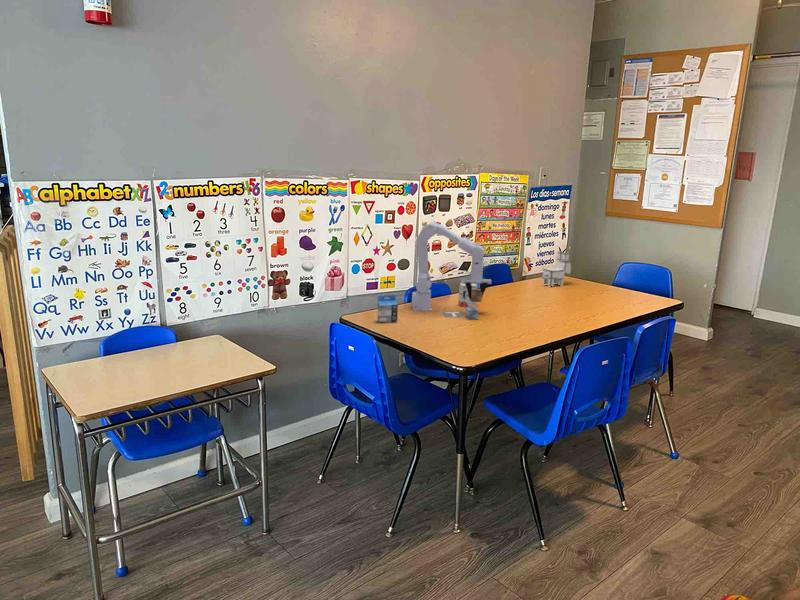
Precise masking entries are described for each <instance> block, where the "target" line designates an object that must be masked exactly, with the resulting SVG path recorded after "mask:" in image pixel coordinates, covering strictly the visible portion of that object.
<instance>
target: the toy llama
mask: <svg viewBox="0 0 800 600" xmlns="http://www.w3.org/2000/svg"><path fill="white" fill-rule="evenodd" d="M556 253H557V255H556V265H555V267H549V268H548V267H546V268H543V269H542V275H541V279H542V281H541V285H542V284H548V285H549V286H555V285H554V283H557V284H559V285H563V286H564V282H565V281H564V277H565V275H567V274H568V275H569V274H571V271H572V263H573V262H572V261H571V260H570V258H569V257H570V253H569V252H564V251H561V250H560V251H557V252H556ZM548 285H547V286H548Z"/></svg>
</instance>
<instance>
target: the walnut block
mask: <svg viewBox="0 0 800 600" xmlns="http://www.w3.org/2000/svg"><path fill="white" fill-rule="evenodd" d="M482 299H483V297H482V291H481V290H480V289H477V290H471V298H469V300H470V301H471V302H476V303H482V302H483V301H482Z"/></svg>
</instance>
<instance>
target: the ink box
mask: <svg viewBox="0 0 800 600" xmlns="http://www.w3.org/2000/svg"><path fill="white" fill-rule="evenodd" d="M471 286H472V290H478V284H471ZM457 303H458V304H457V305H458V306H459V307H461V308H463V307H464V308H466V307H476V308H477V302H471V301H470V300H469V295H468V290H467V287H466V285H465V284H462V283H461V282H460V283H459V289H458V302H457Z"/></svg>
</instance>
